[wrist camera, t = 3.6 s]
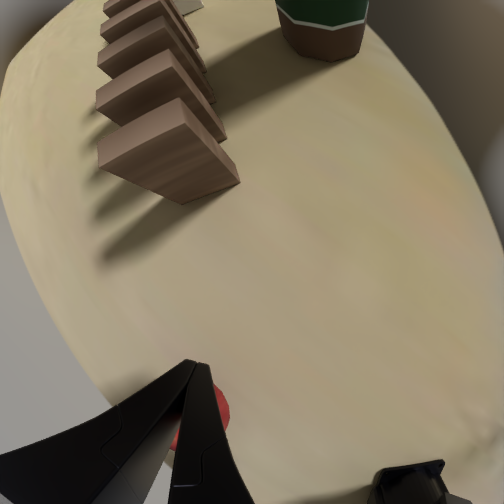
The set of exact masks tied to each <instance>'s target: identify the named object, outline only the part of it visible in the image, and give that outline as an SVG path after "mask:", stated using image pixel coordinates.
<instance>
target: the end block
mask: <svg viewBox="0 0 504 504" xmlns="http://www.w3.org/2000/svg"><path fill="white" fill-rule="evenodd" d="M172 1H173V2H174V4H175V5H176V7H177V8H178V10H179V11H180V13H181V15H185V14H187V13H189V12H192V11H194V10H197V9H199V8H202V7H204V5H203V3H202V0H172Z"/></svg>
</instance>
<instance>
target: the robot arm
mask: <svg viewBox="0 0 504 504" xmlns="http://www.w3.org/2000/svg"><path fill="white" fill-rule="evenodd" d="M179 427H180V428H179ZM178 429H179V433H178V439H177V445H176V451H175V458H174V464H173V471H172V477H171V484H170V491H169V498H168V504H255V503H254V501H253V499H252V497H251V495H250V493H249V491H248V489H247V488H246V486H245V484H244V482H243V480H242V478H241V476H240V473H239V471H238V469H237V467H236V464H235V462H234V459H233V456H232V453H231V450H230V447H229V443H228V440H227V438H226V433H225V429H224V426H223V422H222V418H221V414H220V410H219V405H218V401H217V397H216V393H215V389H214V384H213V380H212V375H211V371H210V366H209V365H208V364H204V363H200V362H198V363H197V362H196V361H193V360H189V359H185V360H184V361H182V362H181V363H179V364H178V365H176V366H175V367H173V368H172V369H170V370H169V371H168V372H166V373H165V374H163V375H162V376H160V377H159V378H157V379H156V380H154V381H153V382H151V383H150V384H148V385H147V386H145V387H144V388H142V389H141V390H139V391H138V392H136V393H134V394H133V395H131V396H130V397H128V398H127V399H125V400H124V401H122V402H121V403H119V404H118V406H117V405H115V406H114V407H112V408H110V409H109V410H107V411H105V412H104V413H102V414H100V415H99V416H97V417H95V418H93V419H91V420H89V421H86V422H84V423H82V424H80V425H78V426H75V427H73V428H70V429H69V430H66V431H63V432H61V433H58V434H56V435H54V436H51V437H49V438H46V439H43V440H41V441H38V442H35V443H33V444H30V445H27V446H24V447H22V448H19V449H16V450H13V451H10V452H7V453H4V454H1V455H0V504H143V503H144V501H145V499H146V497H147V495H148V492H149V490H150V488H151V486H152V484H153V482H154V480H155V478H156V476H157V474H158V471H159V469H160V467H161V465H162V463H163V461H164V459H165V457H166V455H167V452H168V450H169V448H170V446H171V444H172V442H173V440H174V437H175V435H176V433H177V431H178ZM444 465H445V462H444V460H443V459H441V460H436V461H431V462H426V463H420V464H415V465H408V466H401V467H393V468H386V469H384V470H383V471H382V472H381V475H380V477H379V480H378V483H377V485H376V486H375V487H374V488H373V490H372V492H371V495H370V497H369V500H368V502H367V504H472V502H471V501H469V500H466V499H463V498H460V497H458V496H455V495H452V494H450V493H449V491H448V489H447V488H446V486H445V484H444V482H443V480H442V478H441V476H440V474H441V472H442V470H443V468H444ZM386 473H387V474H386Z"/></svg>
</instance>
